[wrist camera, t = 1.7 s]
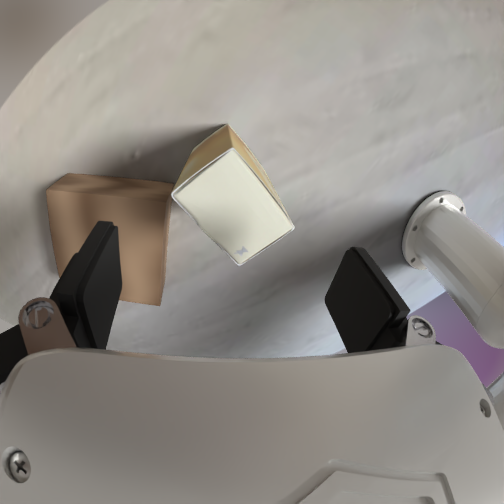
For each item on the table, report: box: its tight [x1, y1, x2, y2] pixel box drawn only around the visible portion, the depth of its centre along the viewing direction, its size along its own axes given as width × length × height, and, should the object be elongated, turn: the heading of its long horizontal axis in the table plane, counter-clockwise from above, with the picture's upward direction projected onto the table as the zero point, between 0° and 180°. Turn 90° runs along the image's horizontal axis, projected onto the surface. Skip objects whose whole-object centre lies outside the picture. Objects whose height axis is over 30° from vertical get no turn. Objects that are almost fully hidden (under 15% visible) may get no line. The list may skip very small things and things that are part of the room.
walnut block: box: [46, 173, 174, 306], centre depth 25 cm, size 12×12×5 cm
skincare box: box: [171, 124, 295, 266], centre depth 20 cm, size 6×4×12 cm
